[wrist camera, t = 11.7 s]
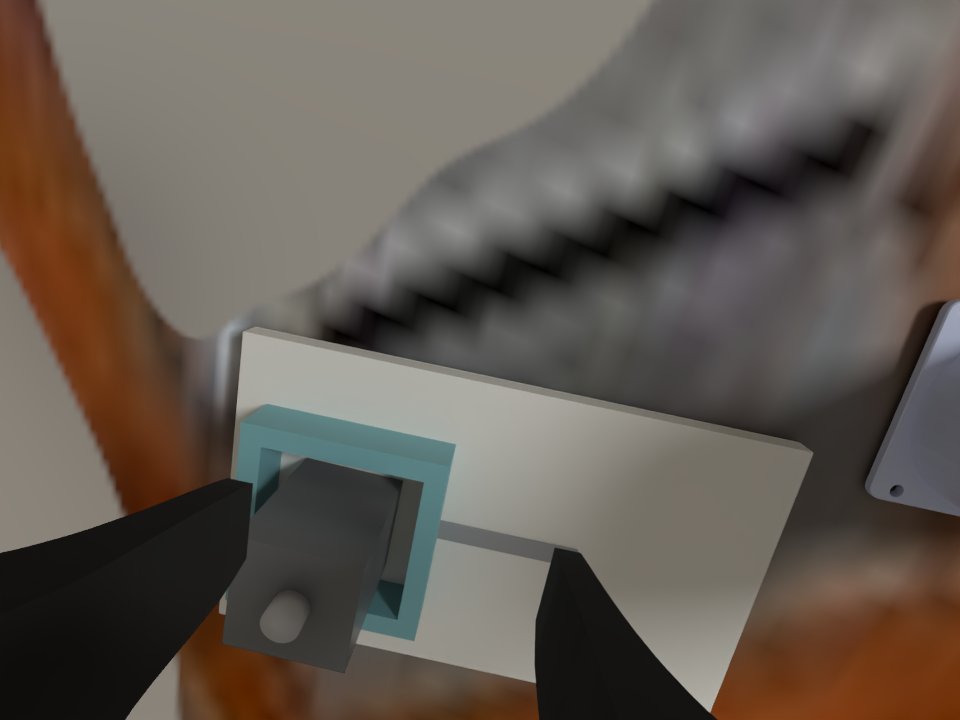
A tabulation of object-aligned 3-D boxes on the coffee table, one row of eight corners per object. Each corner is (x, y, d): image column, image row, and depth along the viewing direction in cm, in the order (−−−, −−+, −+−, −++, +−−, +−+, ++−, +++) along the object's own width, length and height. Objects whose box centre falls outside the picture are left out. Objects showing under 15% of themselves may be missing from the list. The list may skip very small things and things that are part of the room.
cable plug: (403, 480, 21) (357, 585, 15) (385, 564, 22) (335, 695, 16) (306, 457, 21) (219, 552, 15) (293, 542, 22) (207, 664, 16)
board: (799, 442, 20) (847, 477, 17) (699, 700, 24) (724, 766, 21) (255, 326, 21) (213, 342, 18) (230, 597, 24) (191, 648, 21)
